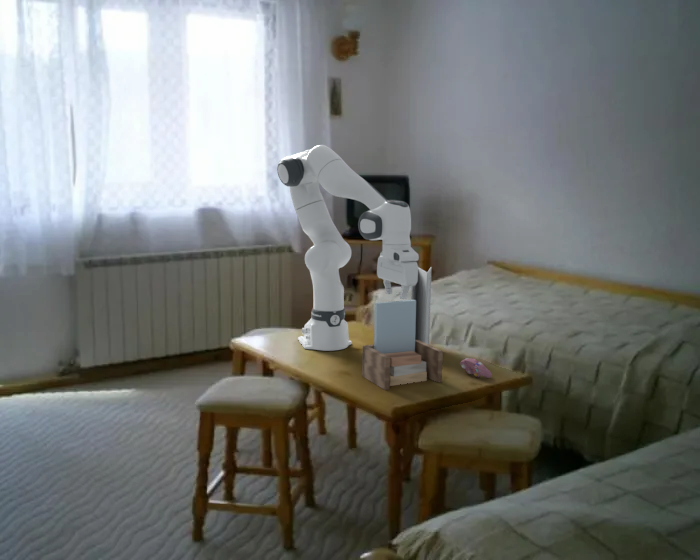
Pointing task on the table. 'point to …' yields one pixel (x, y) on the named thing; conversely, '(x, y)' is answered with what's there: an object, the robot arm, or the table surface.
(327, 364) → the table surface
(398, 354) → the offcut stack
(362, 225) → the robot arm
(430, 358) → the rack
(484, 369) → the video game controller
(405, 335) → the sheet
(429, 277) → the brochure
